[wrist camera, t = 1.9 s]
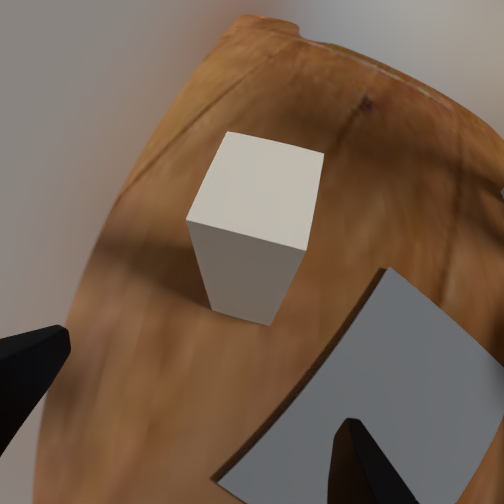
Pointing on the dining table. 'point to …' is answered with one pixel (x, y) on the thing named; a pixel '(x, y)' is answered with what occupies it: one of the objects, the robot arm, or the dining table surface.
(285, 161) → the card box
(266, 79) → the dining table surface
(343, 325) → the dining table surface
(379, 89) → the dining table surface
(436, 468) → the mat
